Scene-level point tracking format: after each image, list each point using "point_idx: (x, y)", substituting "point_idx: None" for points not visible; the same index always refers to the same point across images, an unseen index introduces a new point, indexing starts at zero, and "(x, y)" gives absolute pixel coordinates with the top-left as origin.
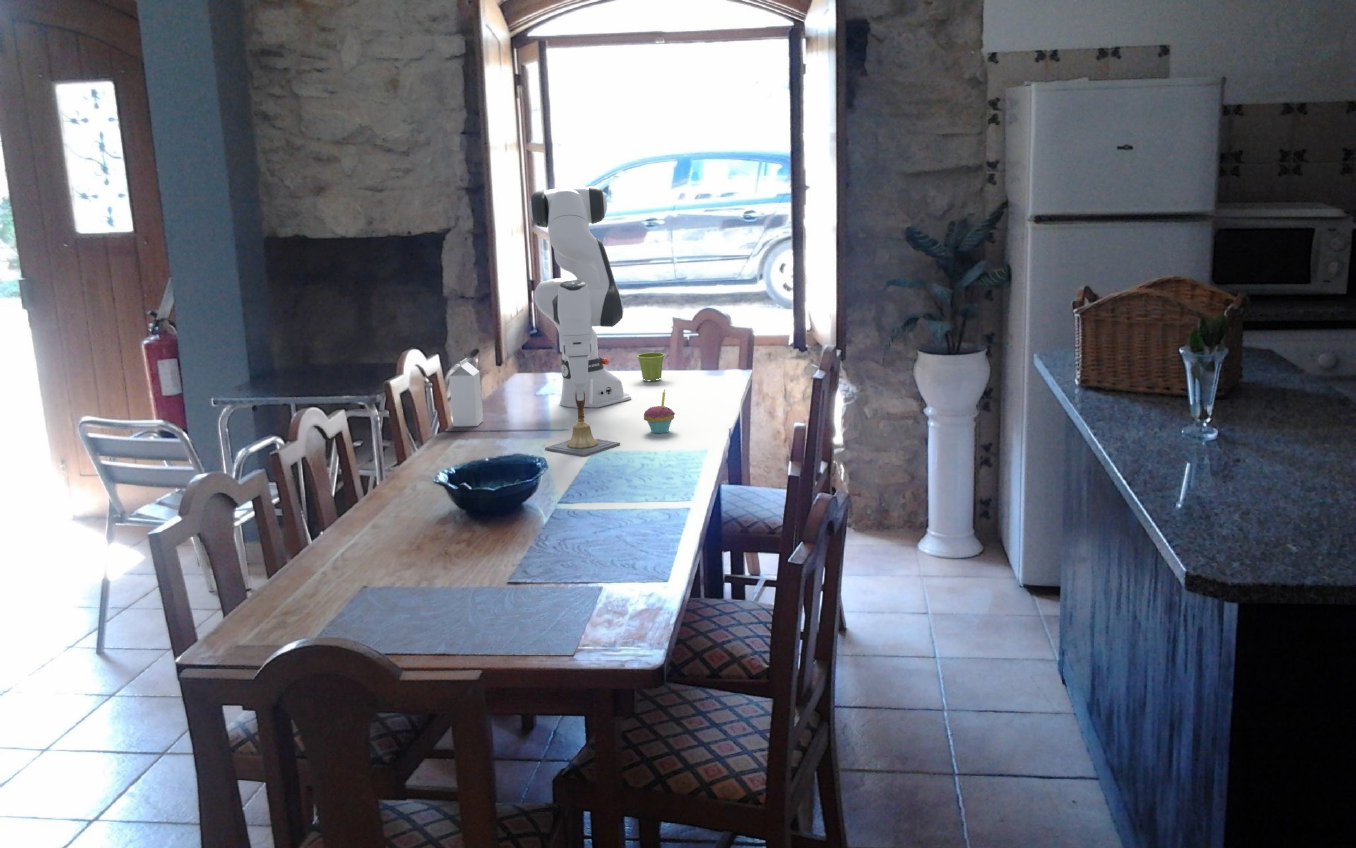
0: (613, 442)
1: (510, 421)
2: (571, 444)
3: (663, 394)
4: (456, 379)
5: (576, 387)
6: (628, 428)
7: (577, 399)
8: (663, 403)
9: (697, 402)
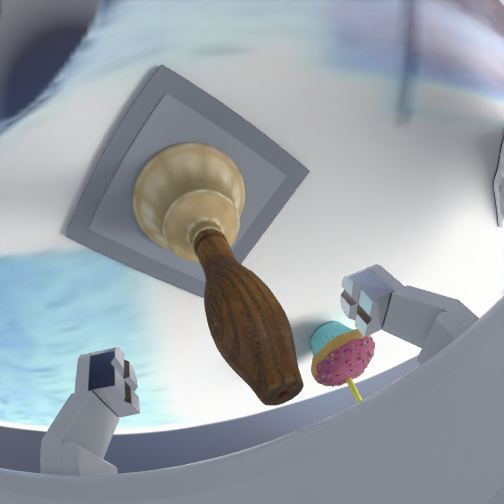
0: None
1: (464, 16)
2: (148, 171)
3: None
4: None
5: (45, 451)
6: None
7: (79, 360)
8: (350, 388)
9: None
